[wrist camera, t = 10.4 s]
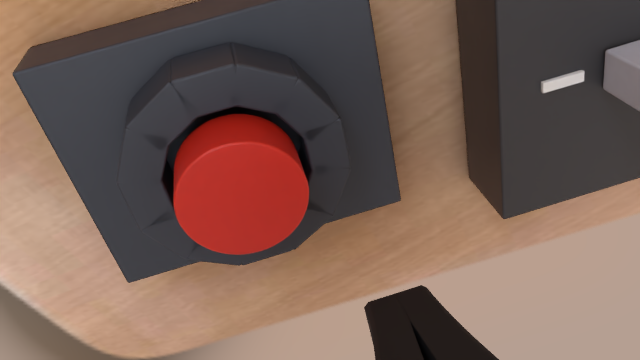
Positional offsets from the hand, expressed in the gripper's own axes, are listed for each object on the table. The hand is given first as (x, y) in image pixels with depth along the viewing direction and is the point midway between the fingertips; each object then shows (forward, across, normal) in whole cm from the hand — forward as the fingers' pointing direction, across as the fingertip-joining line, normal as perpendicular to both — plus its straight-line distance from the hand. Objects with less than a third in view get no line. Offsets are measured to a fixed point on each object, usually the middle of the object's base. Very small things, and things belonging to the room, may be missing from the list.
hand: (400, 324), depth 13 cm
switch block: (+10, +3, -2) cm, 10 cm away
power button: (+6, +3, -1) cm, 7 cm away
